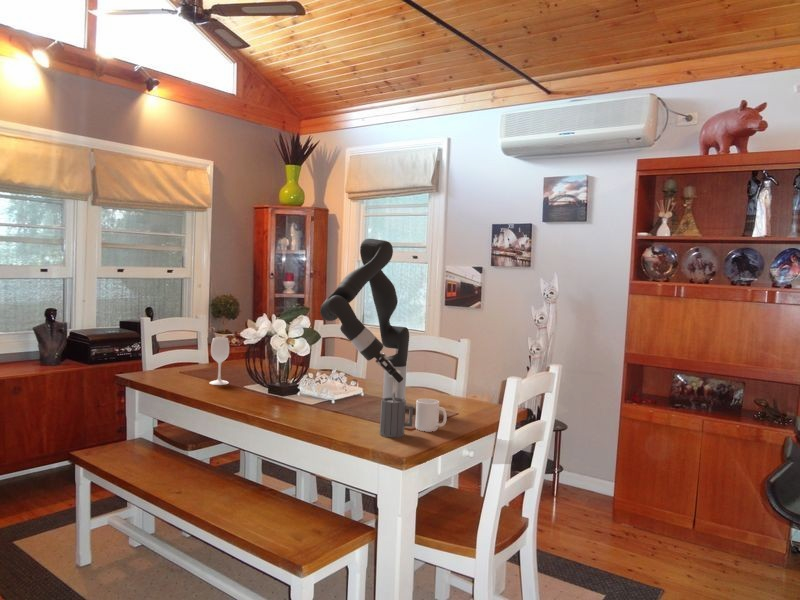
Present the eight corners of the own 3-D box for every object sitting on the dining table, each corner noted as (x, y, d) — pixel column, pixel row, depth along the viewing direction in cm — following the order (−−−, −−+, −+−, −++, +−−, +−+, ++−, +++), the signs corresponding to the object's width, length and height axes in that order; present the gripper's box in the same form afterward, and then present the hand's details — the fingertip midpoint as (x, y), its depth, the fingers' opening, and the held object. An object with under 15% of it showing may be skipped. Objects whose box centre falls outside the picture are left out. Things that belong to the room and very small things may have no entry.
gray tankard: (378, 430, 206) (380, 397, 206) (409, 430, 208) (411, 397, 207) (381, 437, 198) (382, 402, 197) (413, 437, 200) (415, 403, 199)
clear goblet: (384, 402, 204) (386, 368, 204) (400, 402, 205) (401, 368, 204) (386, 405, 199) (388, 371, 198) (402, 406, 200) (403, 371, 199)
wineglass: (208, 385, 266) (209, 339, 265) (209, 381, 274) (211, 336, 273) (228, 385, 268) (229, 339, 267) (229, 381, 276) (230, 337, 275)
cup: (422, 424, 218) (423, 397, 217) (451, 430, 211) (452, 402, 211) (410, 428, 211) (412, 401, 210) (440, 435, 204) (441, 406, 204)
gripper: (377, 338, 193) (411, 376, 195) (372, 333, 207) (405, 368, 209) (360, 354, 192) (395, 391, 195) (357, 348, 206) (389, 382, 209)
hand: (400, 379), depth 202 cm, fingers closed on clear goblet, 3 cm apart
